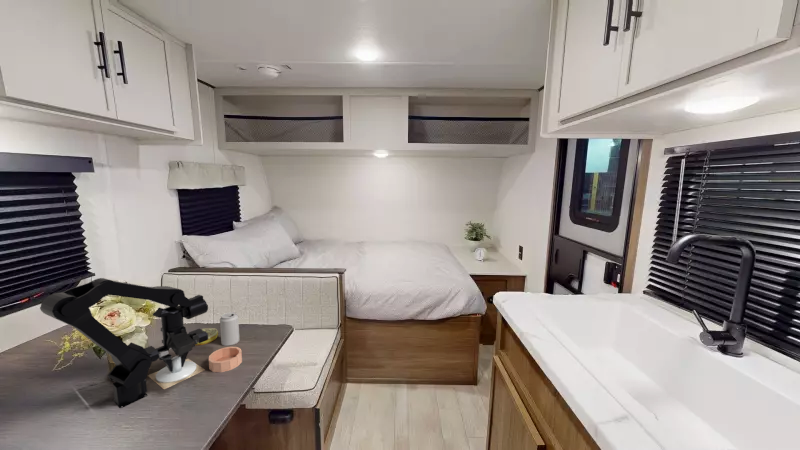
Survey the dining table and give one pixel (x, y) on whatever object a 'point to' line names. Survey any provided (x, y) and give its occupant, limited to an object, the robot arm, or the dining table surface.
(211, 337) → the decorated donut
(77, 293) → the robot arm
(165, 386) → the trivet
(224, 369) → the bowl
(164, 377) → the lid
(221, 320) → the beverage can
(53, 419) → the dining table surface
